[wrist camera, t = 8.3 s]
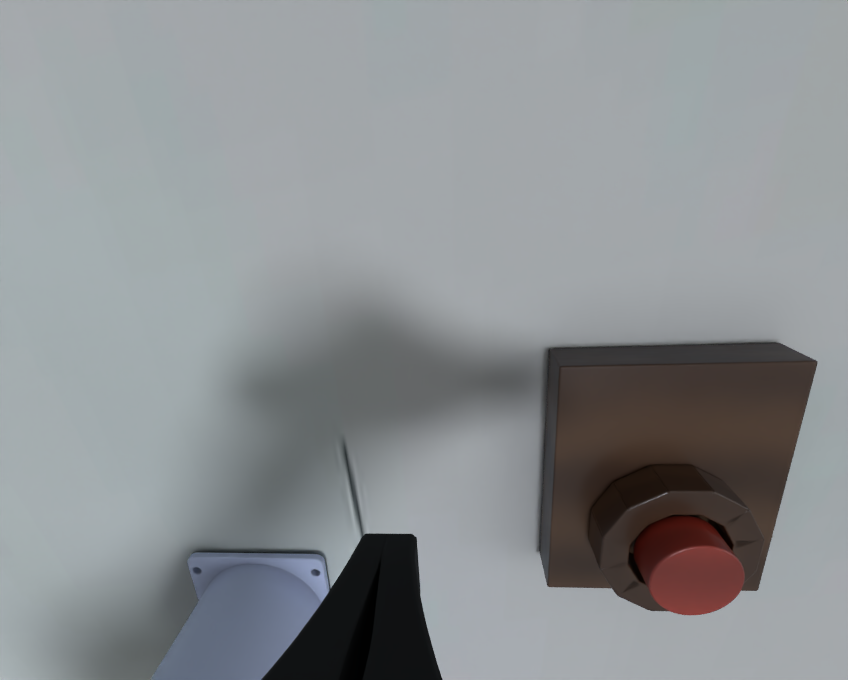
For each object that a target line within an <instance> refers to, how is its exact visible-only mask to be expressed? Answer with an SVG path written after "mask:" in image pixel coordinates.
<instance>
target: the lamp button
mask: <svg viewBox="0 0 848 680" xmlns="http://www.w3.org/2000/svg"><path fill="white" fill-rule="evenodd" d="M633 555H634V560H635V562H636V565H637V567H638V569H639V571H640V573H641V575H642V577H643V579H644V581H645V583H646V585H647V588H648V590H649V592H650V594H651V596H652V597H653V599H654V600H655V601H656V602H657V603H658V604H659V605H660V606H662V607H663V608H665V609H666V610H668V611H671V612H673V613H677V614H682V615H701V614H706V613H710V612H713V611H716V610H718V609H721V608H722V607H724V606H726V605H727V604H729V603H730V602H731V601H733V600H734V599H735V598H736V597H737V595H738V594H739V593H740V591H741V589H742V587H743V584H744V580H745V574H744V569H743V566H742V564H741V562H740V561H739V559H738V558H737V556H736V555H735V554H734V553H733V551H732V550H731V549H730V547H729V546H728V545H727V543H726V542H725V541H724V539H723V538H722V537H721V535H720V534H719V533H718V531H717V530H716V529H715V528H714V527H713V526H712V525H711V524H710V523H708V522H706V521H705V520H702V519H700V518H697V517H694V516H688V515H676V516H670V517H666V518H663V519H661V520H659V521H656V522H654V523H652V524H650V525H649V526H648V527H646V528H645V529H644V530H643V531H642V532H641V533H640V535H639V536H638V538H637V539H636V542H635V544H634V551H633Z"/></svg>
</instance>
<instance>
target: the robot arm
mask: <svg viewBox="0 0 848 680" xmlns="http://www.w3.org/2000/svg"><path fill="white" fill-rule="evenodd" d="M187 564H188V567H189V570H190V574H191V577H192V581H193V584H194V587H195V591H196V594H197V598H198V601H199V602H198V603H197V605H196V606H195V608H194V610H193V611H192V613H191V615H190V616H189V618H188V619H187V621H186V623H185V624H184V626H183V628H182V629H181V631H180V632H179V634H178V636H177V637H176V639H175V640H174V642H173V644H172V645H171V647H170V649H169V650H168V652H167V653H166V655H165V657H164V658H163V660H162V662H161V663H160V665H159V666H158V668H157V670H156V671H155V673H154V675H153V676H152V678H151V679H150V680H442V677H441V674H440V671H439V668H438V665H437V661H436V658H435V655H434V651H433V648H432V644H431V640H430V637H429V633H428V629H427V625H426V621H425V617H424V612H423V608H422V603H421V598H420V580H419V566H418V552H417V538H416V537H415V536H414V535H413V534H365V535H364V536H363V537H362V538H361V540H360V542H359V544H358V545H357V547H356V549H355V551H354V552H353V554H352V556H351V558H350V559H349V561H348V563H347V564H346V566H345V568H344V569H343V571H342V572H341V574H340V576H339V577H338V579H337V580H336V582H335V583H334V585H333V586H332V588H331V589H330V590H329V583H328V577H327V571H326V565H325V560H324V558H323V557H322V556H321V555H319V554H278V553H200V552H196V553H193V554H191V556H190V557H189V558H188V560H187ZM315 569H317V570H315ZM318 570H319V571H318Z"/></svg>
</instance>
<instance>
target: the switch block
mask: <svg viewBox="0 0 848 680" xmlns="http://www.w3.org/2000/svg"><path fill="white" fill-rule="evenodd" d="M816 367H817V361H816V360H814V359H812V358H810V357H807V356H805V355H803V354H801V353H799V352H797V351H795V350H793V349H791V348H789V347H787V346H785V345H783V344H781V343H763V344H721V345H679V346H638V347H596V348H554V349H550V350H549V365H548V387H547V409H546V431H545V452H544V474H543V496H542V518H541V540H540V556H541V560H542V565H543V569H544V573H545V578H546V582H547V585H548V587H577V588H612V589H613V590H614V592H615V593H616V594H617V595H618V596H619V597H621V598H624V599H626V600H628V601H630V602H632V603H634V604H636V605H639V606H641V607H643V608H645V609H647V610H650V611H668V610H666V609H665V608H663V607H662V606H660V605H659V604H658V603H657V602H656V601H655V600H654V599H653V597H652V596H651V594H650V592H649V590H648V588H647V585H646V583H645V581H644V579H643V577H642V575H641V573H640V571H639V569H638V567H637V565H636V562H635V560H634V555H633V551H634V544H635V542H636V539H637V538H638V536H639V535H640V533H641V532H642V531H643V530H644V529H645V528H646V527H648V526H649V525H650V524H652V523H654V522H656V521H659V520H661V519H663V518H666V517H670V516H676V515H688V516H694V517H697V518H700V519H702V520H705V521H706V522H708V523H710V524H711V525H712V526H713V527H714V528H715V529H716V530H717V531H718V533H719V534H720V535H721V537H722V538H723V539H724V541H725V542H726V543H727V545H728V546H729V547H730V549H731V550H732V551H733V553H734V554H735V555H736V556H737V558H738V559H739V561H740V562H741V564H742V566H743V569H744V574H745V580H744V584H743V587H742V589H741V590H742V591H757V590H758V588H759V584H760V580H761V576H762V572H763V569H764V565H765V561H766V557H767V553H768V550H769V546H770V542H771V538H772V534H773V530H774V527H775V523H776V519H777V515H778V511H779V508H780V504H781V500H782V496H783V492H784V489H785V485H786V481H787V477H788V473H789V469H790V466H791V462H792V458H793V454H794V450H795V447H796V443H797V439H798V435H799V431H800V428H801V424H802V420H803V416H804V412H805V409H806V405H807V401H808V397H809V393H810V389H811V386H812V382H813V378H814V374H815V370H816Z"/></svg>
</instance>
